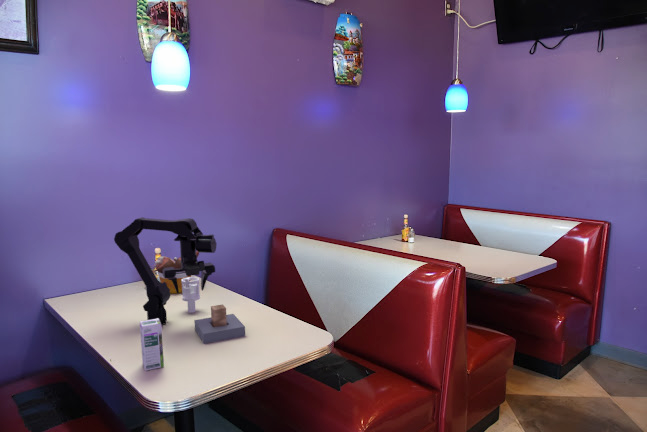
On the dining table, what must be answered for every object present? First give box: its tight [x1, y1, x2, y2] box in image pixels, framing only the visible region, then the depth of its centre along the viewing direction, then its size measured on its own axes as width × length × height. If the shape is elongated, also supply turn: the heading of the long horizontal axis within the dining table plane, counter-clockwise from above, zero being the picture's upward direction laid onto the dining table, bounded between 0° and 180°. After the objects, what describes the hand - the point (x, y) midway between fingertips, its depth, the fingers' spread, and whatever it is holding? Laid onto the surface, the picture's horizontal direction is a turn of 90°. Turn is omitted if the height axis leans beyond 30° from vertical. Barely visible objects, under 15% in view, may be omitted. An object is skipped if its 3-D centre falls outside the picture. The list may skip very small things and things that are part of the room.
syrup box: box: [139, 318, 165, 372], centre depth 150 cm, size 6×6×14 cm
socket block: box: [194, 313, 246, 344], centre depth 177 cm, size 15×15×4 cm
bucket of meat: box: [155, 251, 200, 295], centre depth 228 cm, size 20×16×20 cm
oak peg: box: [210, 304, 227, 327], centre depth 177 cm, size 4×4×9 cm
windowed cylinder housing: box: [181, 276, 201, 314], centre depth 199 cm, size 7×7×15 cm
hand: (190, 292), depth 184 cm, fingers open, 9 cm apart
